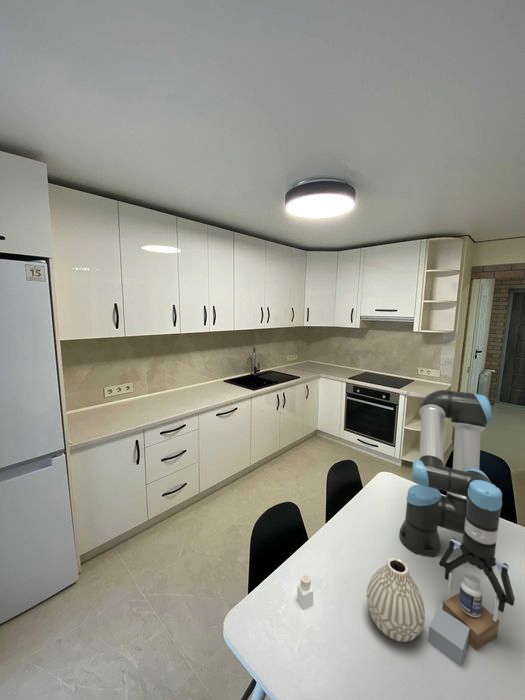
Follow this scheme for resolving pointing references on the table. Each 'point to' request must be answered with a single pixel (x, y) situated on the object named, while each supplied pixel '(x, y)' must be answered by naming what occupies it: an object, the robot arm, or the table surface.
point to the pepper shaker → (305, 592)
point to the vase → (395, 602)
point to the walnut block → (473, 623)
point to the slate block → (449, 635)
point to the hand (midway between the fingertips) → (471, 603)
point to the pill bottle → (470, 595)
